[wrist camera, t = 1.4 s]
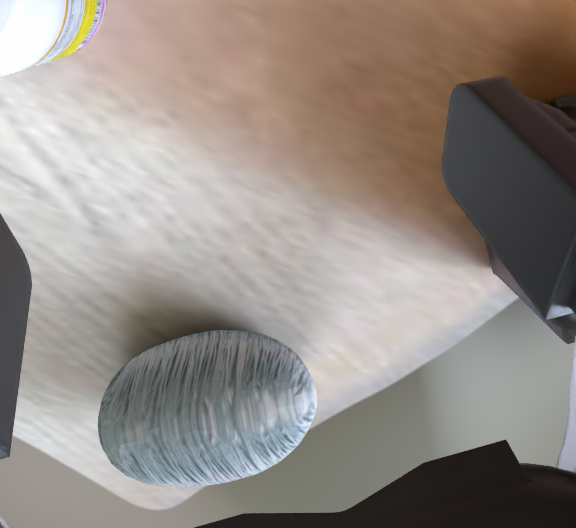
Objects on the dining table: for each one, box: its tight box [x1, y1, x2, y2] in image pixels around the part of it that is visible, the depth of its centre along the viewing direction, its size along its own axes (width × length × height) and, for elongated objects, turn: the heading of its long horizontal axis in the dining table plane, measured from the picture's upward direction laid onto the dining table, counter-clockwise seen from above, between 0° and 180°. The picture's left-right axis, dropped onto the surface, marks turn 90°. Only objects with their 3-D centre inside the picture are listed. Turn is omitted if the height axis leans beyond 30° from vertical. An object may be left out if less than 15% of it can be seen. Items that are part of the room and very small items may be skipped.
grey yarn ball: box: [98, 330, 317, 487], centre depth 35 cm, size 14×10×10 cm
